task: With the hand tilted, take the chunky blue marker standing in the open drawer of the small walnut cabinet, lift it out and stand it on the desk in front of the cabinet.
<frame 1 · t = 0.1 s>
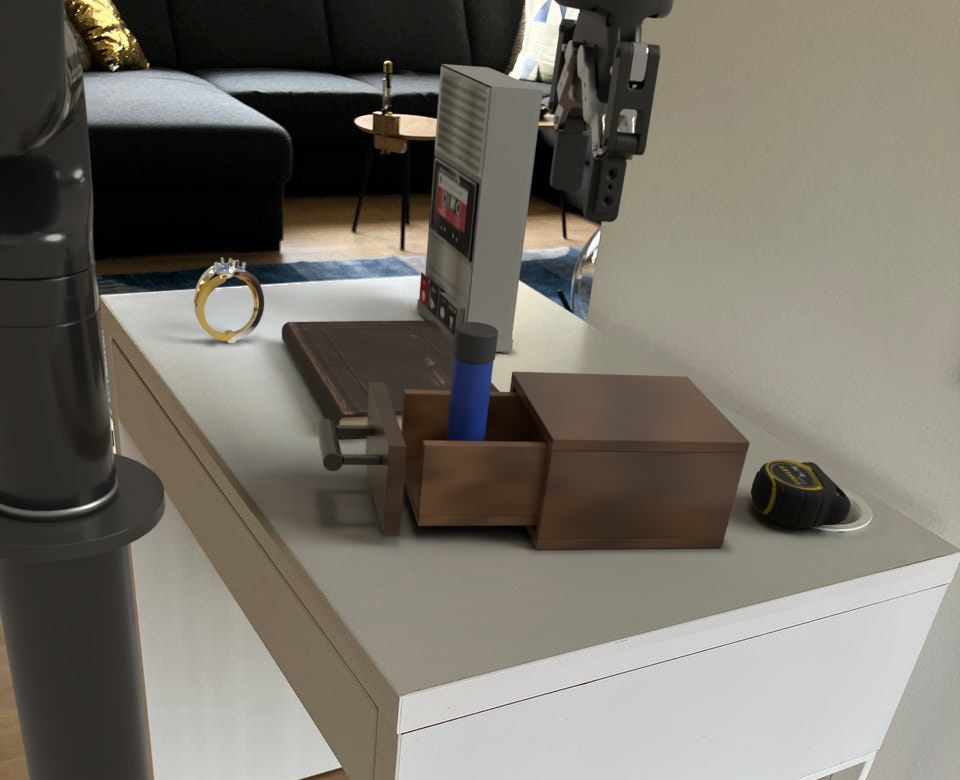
hand: (581, 204, 73), 22 cm above the table, tool pointing down, fingers open, 8 cm apart
drawer: (439, 456, 79), point 4 cm above the table, slide at 10.0 cm, touching marker
cabinet: (606, 508, 84), on the table
tape measure: (794, 516, 87), on the table
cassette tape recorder: (461, 333, 116), on the table
ring: (230, 343, 106), on the table
marker: (460, 484, 80), point 2 cm above the table, touching drawer
hardcover book: (389, 386, 101), on the table
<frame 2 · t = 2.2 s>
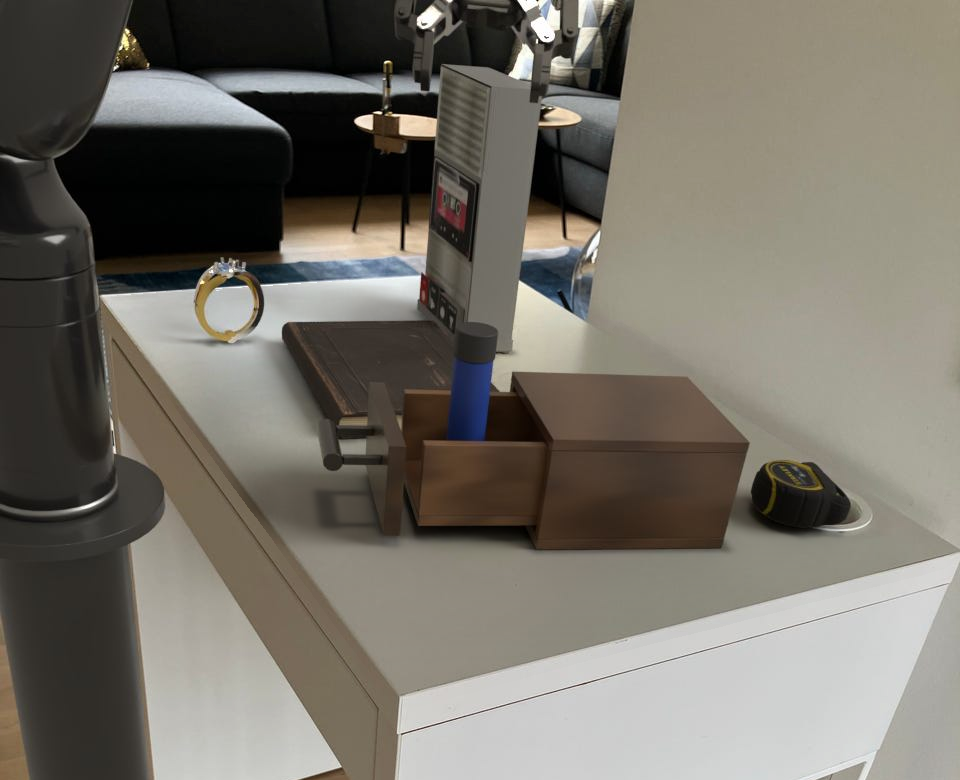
hand: (480, 90, 82), 27 cm above the table, tool tilted 45°, fingers open, 8 cm apart
nothing on the table moved.
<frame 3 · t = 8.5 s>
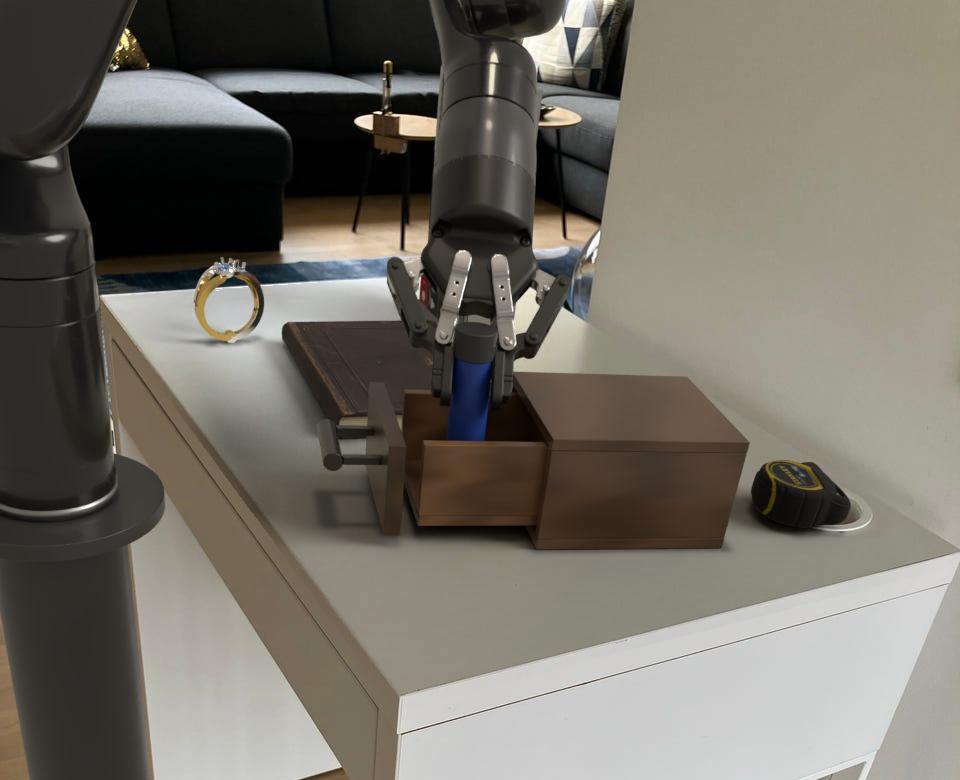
hand: (470, 403, 75), 9 cm above the table, tool tilted 45°, fingers closed on marker, 3 cm apart
marker: (460, 484, 80), point 2 cm above the table, touching drawer, gripper
everything else where it was.
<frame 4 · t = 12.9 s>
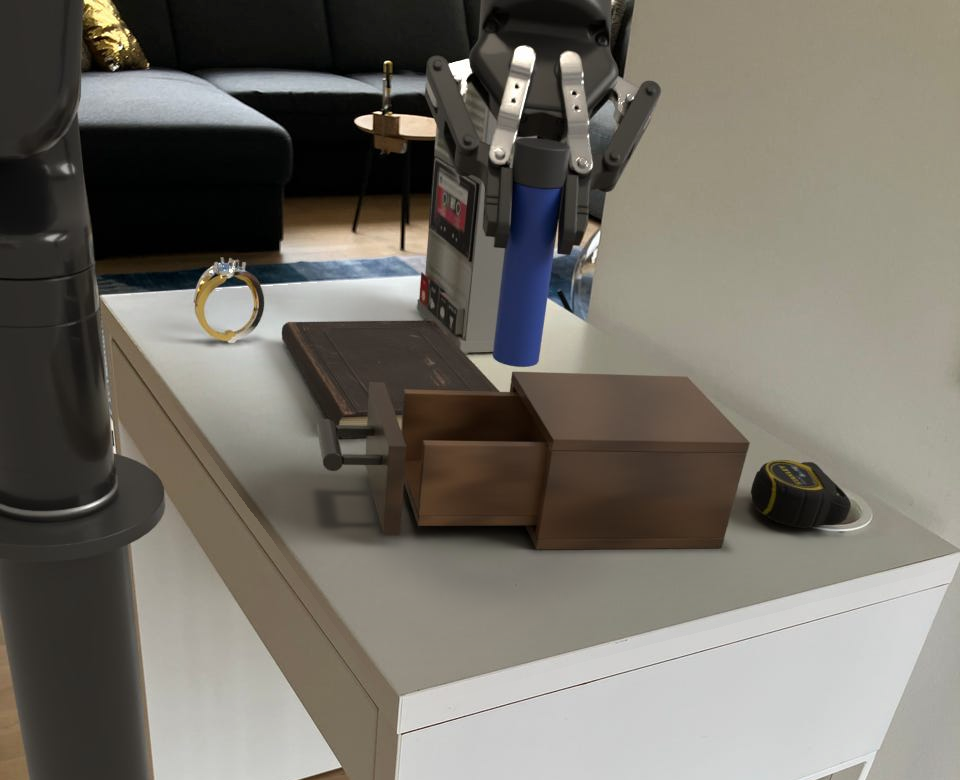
hand: (534, 242, 58), 23 cm above the table, tool tilted 45°, fingers closed on marker, 3 cm apart
drawer: (439, 456, 79), point 4 cm above the table, slide at 10.0 cm
marker: (515, 358, 64), point 16 cm above the table, touching gripper
everything else where it was.
when the fingers open (7 cm above the table, at t = 17.6 s): marker stays where it is, on the table.
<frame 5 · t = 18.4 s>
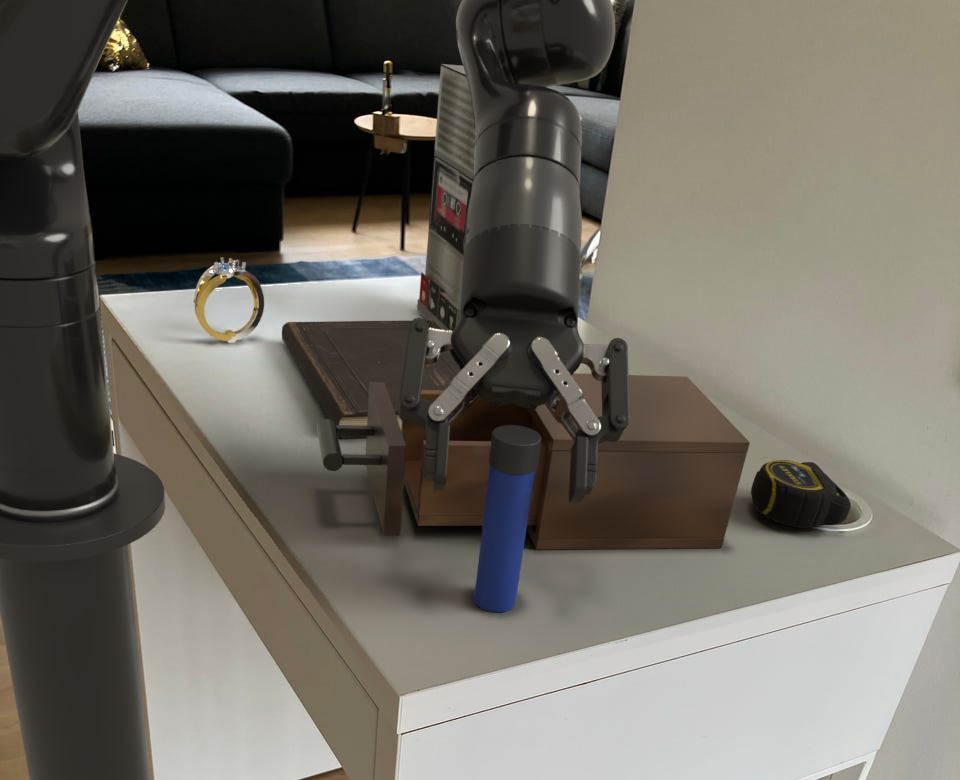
hand: (509, 493, 65), 9 cm above the table, tool tilted 45°, fingers open, 8 cm apart
marker: (494, 601, 71), on the table
everything else where it was.
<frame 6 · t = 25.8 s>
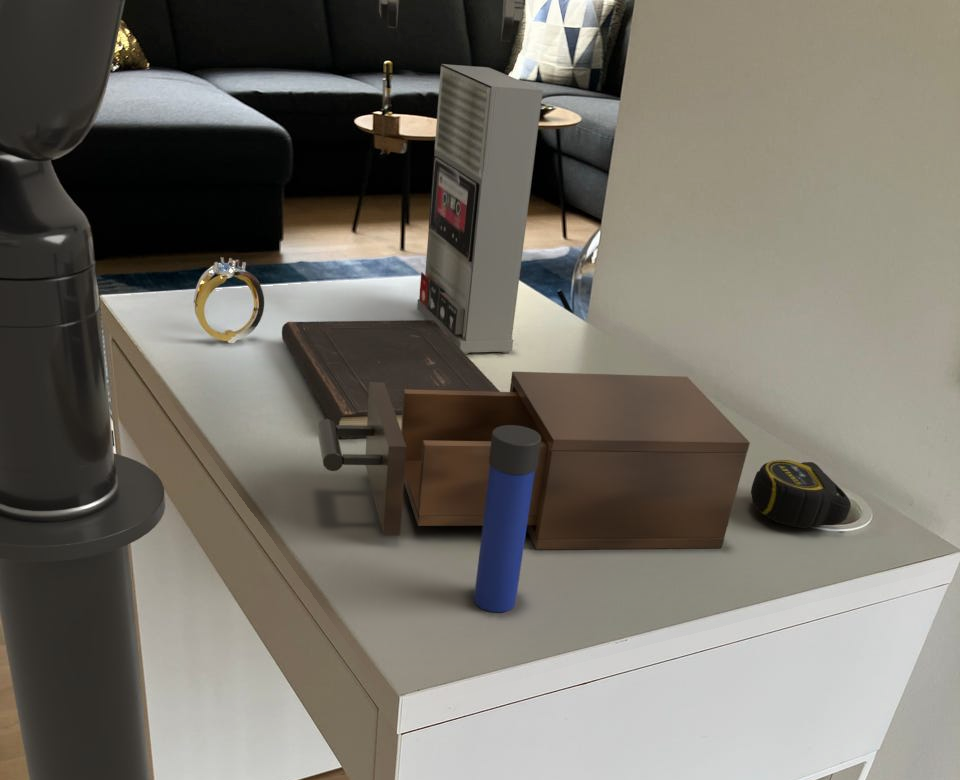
hand: (450, 26, 78), 31 cm above the table, tool tilted 45°, fingers open, 8 cm apart
nothing on the table moved.
at the end: marker inside the target area (0.4 cm from its centre), on the table; marker touching table; the gripper is holding nothing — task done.
